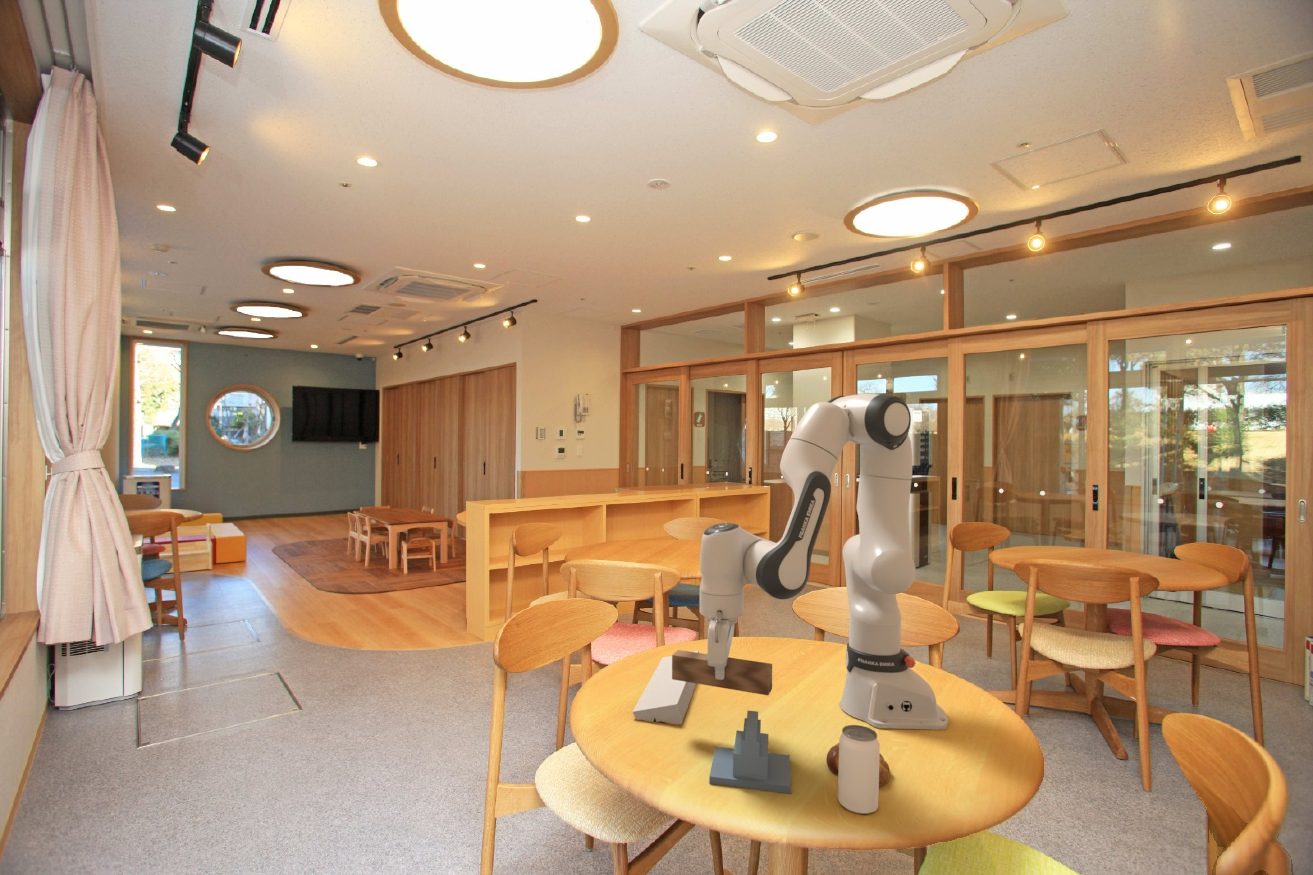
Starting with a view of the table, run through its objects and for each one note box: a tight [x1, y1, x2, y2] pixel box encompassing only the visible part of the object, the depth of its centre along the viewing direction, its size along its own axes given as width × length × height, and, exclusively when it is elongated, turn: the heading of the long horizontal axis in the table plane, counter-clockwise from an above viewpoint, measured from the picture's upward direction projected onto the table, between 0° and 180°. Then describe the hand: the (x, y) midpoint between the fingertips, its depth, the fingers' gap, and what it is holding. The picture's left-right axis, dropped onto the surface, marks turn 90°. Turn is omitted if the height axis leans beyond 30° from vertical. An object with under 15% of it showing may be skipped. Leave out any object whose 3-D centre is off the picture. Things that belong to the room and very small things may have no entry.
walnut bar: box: [671, 649, 773, 696], centre depth 126 cm, size 20×3×5 cm, turn 67°
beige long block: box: [632, 650, 700, 725], centre depth 150 cm, size 34×5×10 cm
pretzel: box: [825, 742, 890, 787], centre depth 116 cm, size 12×11×4 cm
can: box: [837, 724, 881, 815], centre depth 105 cm, size 6×6×12 cm
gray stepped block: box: [708, 710, 792, 794], centre depth 114 cm, size 14×11×9 cm
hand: (721, 673), depth 126 cm, fingers closed on walnut bar, 4 cm apart
